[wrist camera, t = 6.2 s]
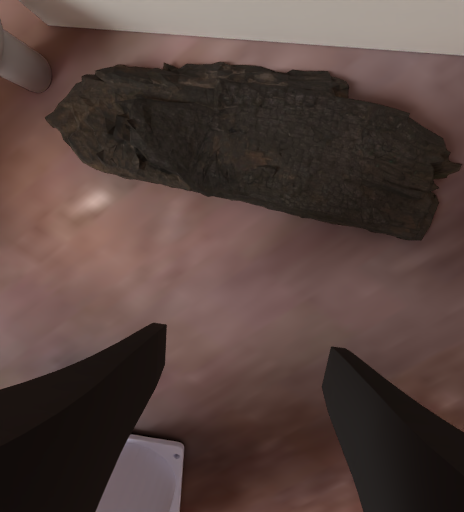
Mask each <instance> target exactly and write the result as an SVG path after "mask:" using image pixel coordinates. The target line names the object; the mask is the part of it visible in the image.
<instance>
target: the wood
mask: <svg viewBox="0 0 464 512" xmlns="http://www.w3.org/2000/svg"><path fill="white" fill-rule="evenodd" d="M348 89H349V85H348V84H347V82H346V81H344V80H341V79H339V78H335V77H331V75H330V74H329V72H328V71H298V70H291V71H289V72H288V73H280V72H275V71H272V70H269V69H266V68H263V67H259V66H249V65H228V64H226V63H224V62H218V63H214V64H203V65H195V64H186V65H184V66H183V67H181V68H180V69H178V68H176V67H174V66H171V65H169V64H166V63H164V67H163V70H162V69H159V68H154V69H151V68H140V67H128V68H127V67H126V66H124V65H116V66H114V67H109V68H104V69H100V70H97V71H95V75H84V76H82V82H80V83H77V84H76V85H75V86H74V87H73V88H72V90H71V91H70V92H69V94H68V95H67V97H66V98H64V99H63V100H62V101H61V102H60V103H59V104H58V106H57V107H56V109H55V111H54V112H52V113H51V114H49V115H48V116H46V117H45V119H46V120H47V122H48V123H49V124H50V125H51V126H52V127H53V128H57V129H58V130H59V131H60V133H61V134H62V137H63V140H64V141H65V142H66V143H67V144H68V145H69V146H70V147H71V148H72V150H73V151H74V152H75V154H76V155H77V156H78V157H79V159H80V160H81V161H82V162H83V163H85V164H87V165H89V166H90V167H92V168H94V169H96V170H99V171H102V172H105V173H110V174H115V175H118V176H120V177H122V178H126V179H136V180H141V181H146V182H151V183H156V184H162V185H166V186H169V187H172V188H180V189H184V190H188V191H194V192H198V193H201V194H203V195H205V196H208V197H210V196H215V197H220V198H225V199H230V200H236V201H243V202H246V203H250V204H254V205H258V206H262V207H265V208H267V209H271V210H276V211H282V212H285V213H288V214H291V215H296V216H300V217H301V218H311V219H315V220H318V221H322V222H327V223H331V224H338V225H344V226H353V227H358V228H363V229H366V230H368V231H370V232H375V233H383V234H387V235H392V236H396V237H397V238H401V239H405V240H422V238H423V237H424V235H425V233H426V232H427V230H428V228H429V227H430V225H431V222H432V219H433V216H434V213H435V211H436V209H437V206H438V204H439V202H438V199H437V197H436V195H435V194H434V193H432V192H431V191H433V190H436V189H438V188H439V187H438V186H436V185H435V184H434V179H440V178H447V175H448V174H451V173H454V172H457V171H459V170H460V167H461V165H462V164H455V163H452V162H450V161H449V158H448V156H449V155H450V152H449V151H447V149H446V146H445V143H444V140H443V138H441V137H440V136H438V135H436V134H435V133H433V132H431V131H429V130H428V129H426V128H424V127H423V126H421V125H420V124H418V123H417V122H415V121H414V120H412V119H411V118H409V115H410V113H407V112H404V111H401V110H398V109H395V108H391V107H387V106H384V105H380V104H376V103H371V102H365V101H359V100H353V99H348Z"/></svg>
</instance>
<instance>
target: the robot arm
mask: <svg viewBox="0 0 464 512" xmlns="http://www.w3.org/2000/svg"><path fill="white" fill-rule="evenodd" d="M166 328H167V325H166V324H158V323H152V324H150V325H148V326H146V327H144V328H143V329H141V330H139V331H137V332H136V333H134V334H132V335H130V336H129V337H127V338H125V339H123V340H122V341H120V342H118V343H116V344H114V345H112V346H110V347H108V348H106V349H104V350H102V351H101V352H99V353H97V354H95V355H93V356H91V357H88V358H86V359H84V360H82V361H80V362H77V363H75V364H73V365H70V366H68V367H65V368H63V369H60V370H58V371H55V372H52V373H49V374H47V375H44V376H41V377H38V378H35V379H32V380H29V381H27V382H24V383H21V384H17V385H14V386H11V387H7V388H4V389H1V390H0V512H180V502H181V488H182V474H183V460H184V445H183V444H182V443H180V442H176V441H170V440H164V439H158V438H151V437H145V436H139V435H133V434H131V432H132V431H133V429H134V427H135V425H136V423H137V421H138V420H139V418H140V416H141V414H142V412H143V410H144V409H145V407H146V405H147V403H148V401H149V399H150V397H151V396H152V394H153V392H154V390H155V388H156V386H157V383H158V381H159V379H160V376H161V373H162V371H163V368H164V366H165V351H166ZM322 389H323V394H324V398H325V402H326V406H327V410H328V413H329V416H330V419H331V421H332V424H333V427H334V429H335V432H336V435H337V437H338V440H339V442H340V445H341V448H342V450H343V453H344V455H345V458H346V461H347V463H348V466H349V469H350V471H351V474H352V477H353V479H354V482H355V485H356V488H357V491H358V494H359V498H360V501H361V505H362V508H363V512H464V432H462V431H460V430H459V429H457V428H456V427H454V426H452V425H451V424H449V423H448V422H446V421H445V420H443V419H442V418H440V417H438V416H437V415H435V414H434V413H432V412H431V411H429V410H428V409H426V408H425V407H423V406H422V405H420V404H419V403H418V402H416V401H415V400H413V399H412V398H411V397H409V396H408V395H406V394H405V393H404V392H402V391H401V390H400V389H398V388H397V387H396V386H394V385H393V384H392V383H390V382H389V381H388V380H386V379H385V378H384V377H382V376H381V375H380V374H379V373H377V372H376V371H375V370H374V369H372V368H371V367H370V366H368V365H367V364H366V363H365V362H363V361H362V360H361V359H360V358H358V357H357V356H356V355H354V354H353V353H352V352H350V351H349V350H347V349H346V348H338V347H331V349H330V354H329V358H328V362H327V367H326V371H325V376H324V380H323V384H322Z"/></svg>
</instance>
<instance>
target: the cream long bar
mask: <svg viewBox="0 0 464 512" xmlns="http://www.w3.org/2000/svg"><path fill="white" fill-rule="evenodd" d="M19 1H20V2H21V3H22V4H23V5H24V6H26V7H27V8H28V9H29V10H30V11H32V12H33V13H34V14H35V15H36V16H38V17H39V18H40V19H41V20H42V21H43V22H45V23H46V24H47V25H49V26H63V27H77V28H90V29H104V30H118V31H132V32H146V33H159V34H173V35H187V36H201V37H215V38H228V39H242V40H256V41H270V42H284V43H297V44H311V45H325V46H339V47H353V48H366V49H380V50H394V51H408V52H421V53H435V54H449V55H463V56H464V0H19ZM0 76H1V77H3V78H5V79H7V80H9V81H11V82H13V83H15V84H17V85H19V86H21V87H23V88H26V89H28V90H30V91H32V92H35V93H39V92H43V91H45V90H46V89H47V88H48V87H49V85H50V82H51V77H52V74H51V68H50V65H49V63H48V62H47V60H46V59H45V58H44V57H43V56H42V55H41V54H39V53H38V52H36V51H35V50H33V49H32V48H31V47H29V46H28V45H26V44H25V43H23V42H22V41H20V40H19V39H17V38H16V37H14V36H13V35H11V34H10V33H8V32H7V31H5V30H4V29H3V27H2V23H1V20H0Z"/></svg>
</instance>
